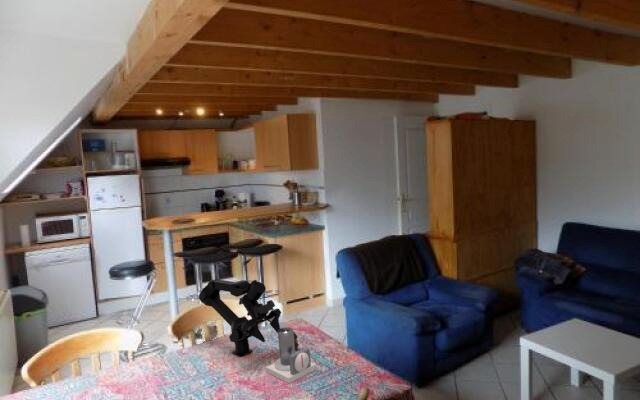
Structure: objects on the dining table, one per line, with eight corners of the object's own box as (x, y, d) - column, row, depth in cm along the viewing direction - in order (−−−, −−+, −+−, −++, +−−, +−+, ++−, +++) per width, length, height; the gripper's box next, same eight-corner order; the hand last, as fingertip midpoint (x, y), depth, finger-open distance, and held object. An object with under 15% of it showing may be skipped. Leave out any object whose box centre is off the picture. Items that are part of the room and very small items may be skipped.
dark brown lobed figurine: (294, 341, 200) (294, 354, 185) (284, 337, 200) (283, 349, 185) (299, 330, 200) (300, 342, 185) (289, 326, 200) (289, 337, 185)
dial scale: (266, 372, 168) (264, 350, 168) (293, 358, 178) (291, 338, 177) (289, 383, 158) (287, 360, 157) (316, 369, 168) (315, 347, 167)
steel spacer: (278, 364, 167) (275, 332, 166) (284, 357, 173) (281, 326, 172) (292, 366, 165) (289, 333, 164) (297, 359, 171) (295, 327, 170)
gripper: (244, 301, 168) (265, 334, 162) (277, 289, 183) (297, 319, 177) (232, 317, 174) (252, 350, 168) (265, 304, 188) (284, 334, 182)
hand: (272, 337), depth 174 cm, fingers open, 9 cm apart
